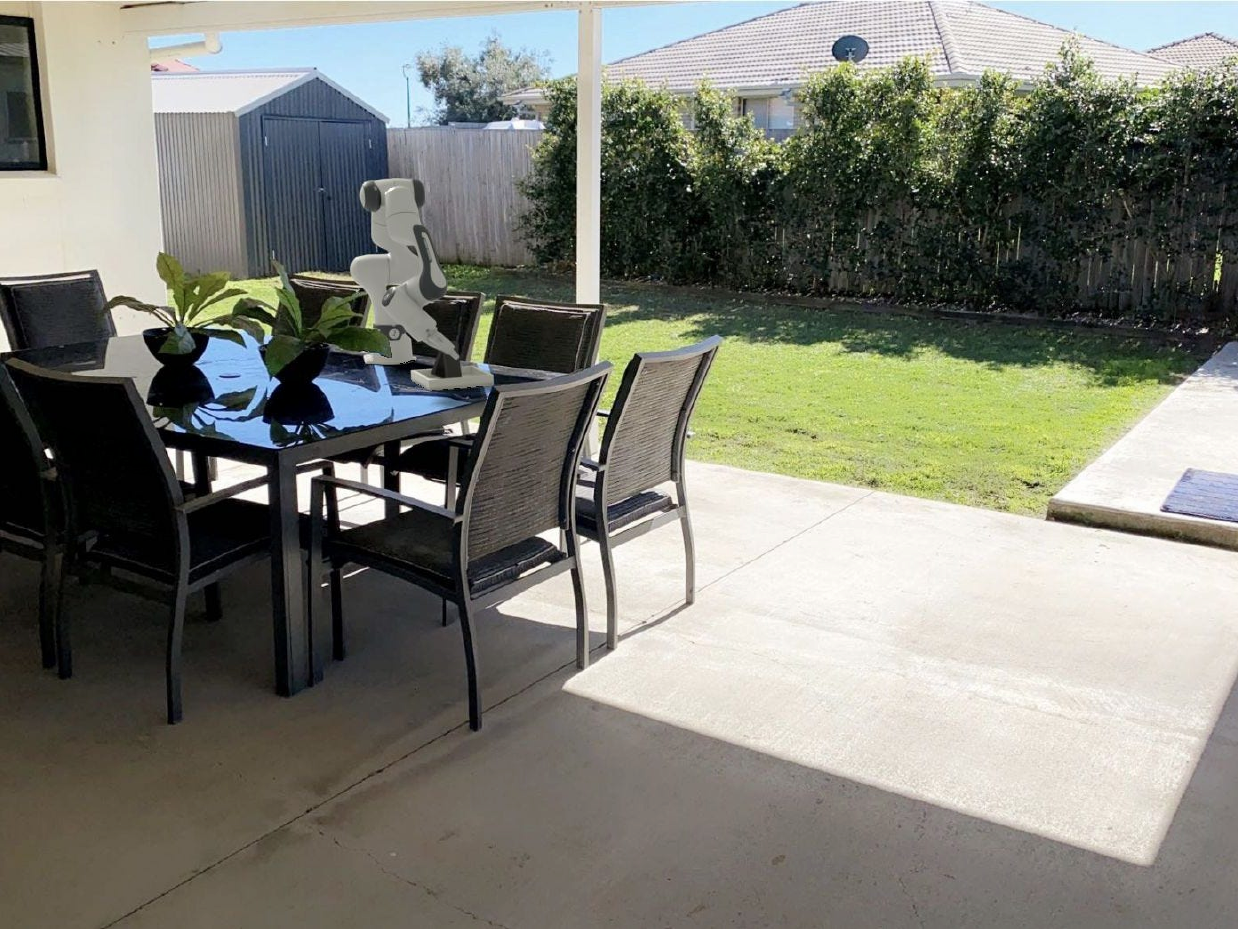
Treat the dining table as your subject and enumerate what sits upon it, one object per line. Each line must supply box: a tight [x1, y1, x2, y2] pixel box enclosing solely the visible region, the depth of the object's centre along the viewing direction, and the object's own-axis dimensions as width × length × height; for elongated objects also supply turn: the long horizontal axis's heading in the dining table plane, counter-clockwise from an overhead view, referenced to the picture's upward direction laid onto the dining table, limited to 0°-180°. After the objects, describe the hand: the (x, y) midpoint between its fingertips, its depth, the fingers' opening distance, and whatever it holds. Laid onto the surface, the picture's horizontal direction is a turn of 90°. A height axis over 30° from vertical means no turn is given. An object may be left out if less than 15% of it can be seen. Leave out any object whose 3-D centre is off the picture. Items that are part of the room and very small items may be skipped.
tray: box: [410, 365, 495, 392], centre depth 384 cm, size 20×22×4 cm
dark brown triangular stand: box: [431, 340, 462, 379], centre depth 385 cm, size 9×6×12 cm, turn 51°
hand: (452, 356), depth 383 cm, fingers open, 8 cm apart
